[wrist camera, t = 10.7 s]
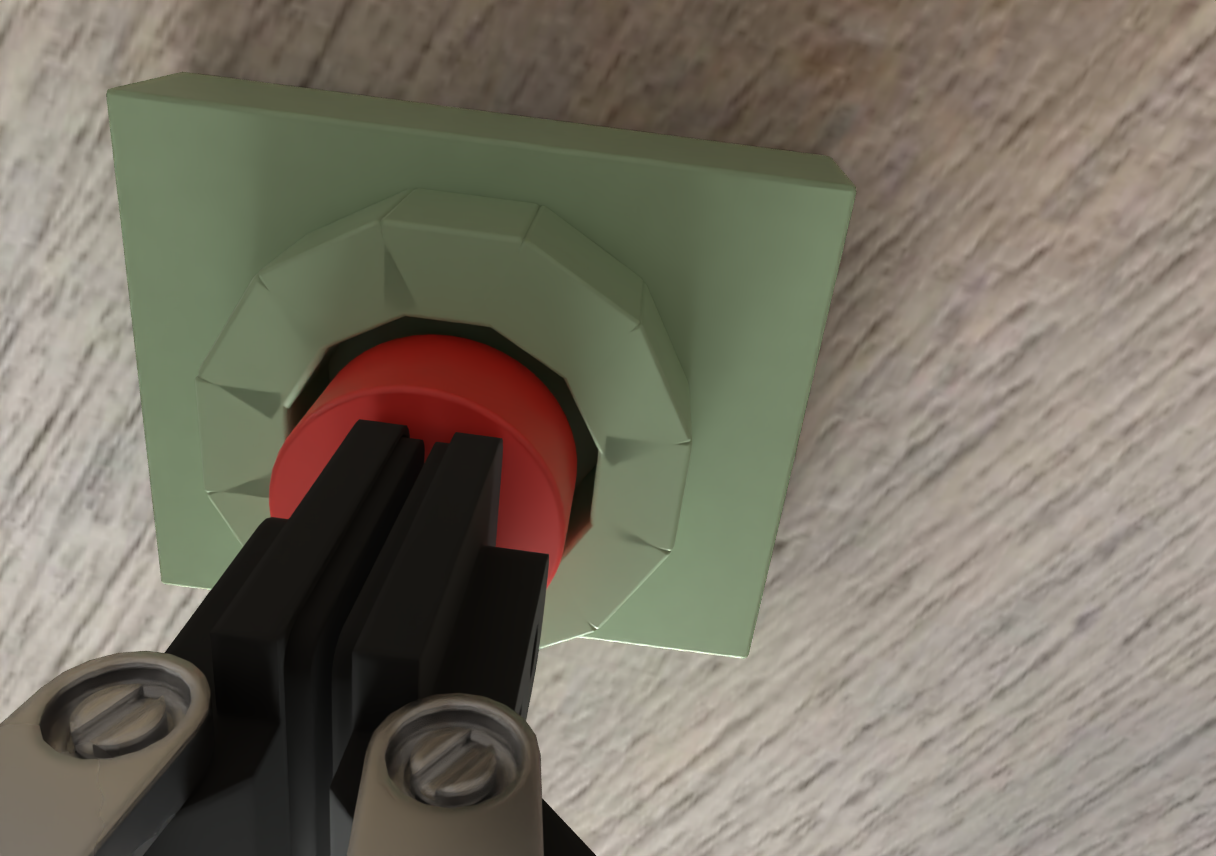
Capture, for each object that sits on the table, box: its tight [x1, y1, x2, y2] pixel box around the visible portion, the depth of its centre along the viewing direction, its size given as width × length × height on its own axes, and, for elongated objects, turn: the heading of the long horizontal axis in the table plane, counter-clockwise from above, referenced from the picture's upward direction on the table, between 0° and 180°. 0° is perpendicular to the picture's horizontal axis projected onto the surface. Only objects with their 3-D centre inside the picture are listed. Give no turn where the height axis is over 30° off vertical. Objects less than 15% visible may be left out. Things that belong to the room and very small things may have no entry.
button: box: [269, 334, 577, 589], centre depth 12 cm, size 4×4×2 cm
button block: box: [106, 72, 856, 659], centre depth 14 cm, size 10×8×4 cm
